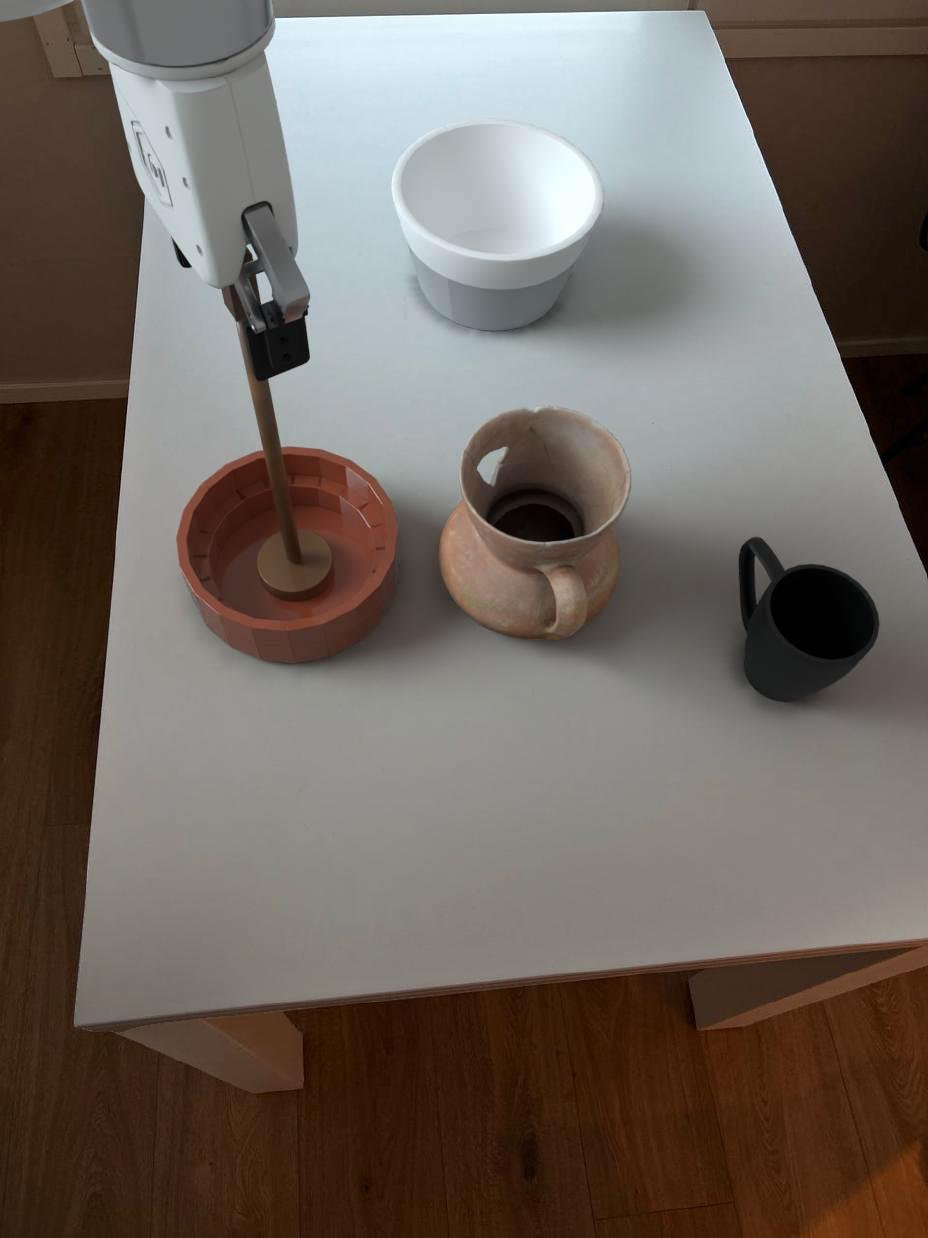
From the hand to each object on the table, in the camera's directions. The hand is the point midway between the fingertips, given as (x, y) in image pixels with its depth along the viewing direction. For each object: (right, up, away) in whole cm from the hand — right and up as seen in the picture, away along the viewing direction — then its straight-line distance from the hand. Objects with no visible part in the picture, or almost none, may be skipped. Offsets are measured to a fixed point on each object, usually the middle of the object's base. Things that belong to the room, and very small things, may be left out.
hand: (242, 311), depth 54 cm
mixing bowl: (-1, -13, +25) cm, 28 cm away
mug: (+36, -20, +24) cm, 48 cm away
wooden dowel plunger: (-1, -13, +24) cm, 28 cm away
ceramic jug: (+17, -14, +26) cm, 34 cm away
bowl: (+15, +17, +42) cm, 48 cm away
